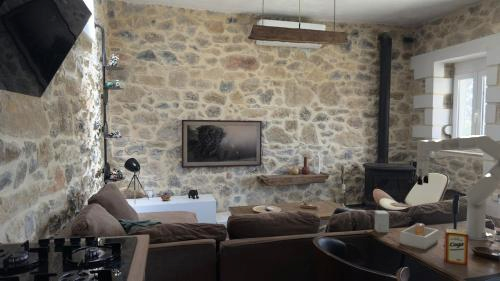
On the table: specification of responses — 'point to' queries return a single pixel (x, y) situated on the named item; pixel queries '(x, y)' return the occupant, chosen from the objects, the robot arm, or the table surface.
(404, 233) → the tote
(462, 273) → the table surface
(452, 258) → the baking soda box
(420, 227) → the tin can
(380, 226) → the supplement box
